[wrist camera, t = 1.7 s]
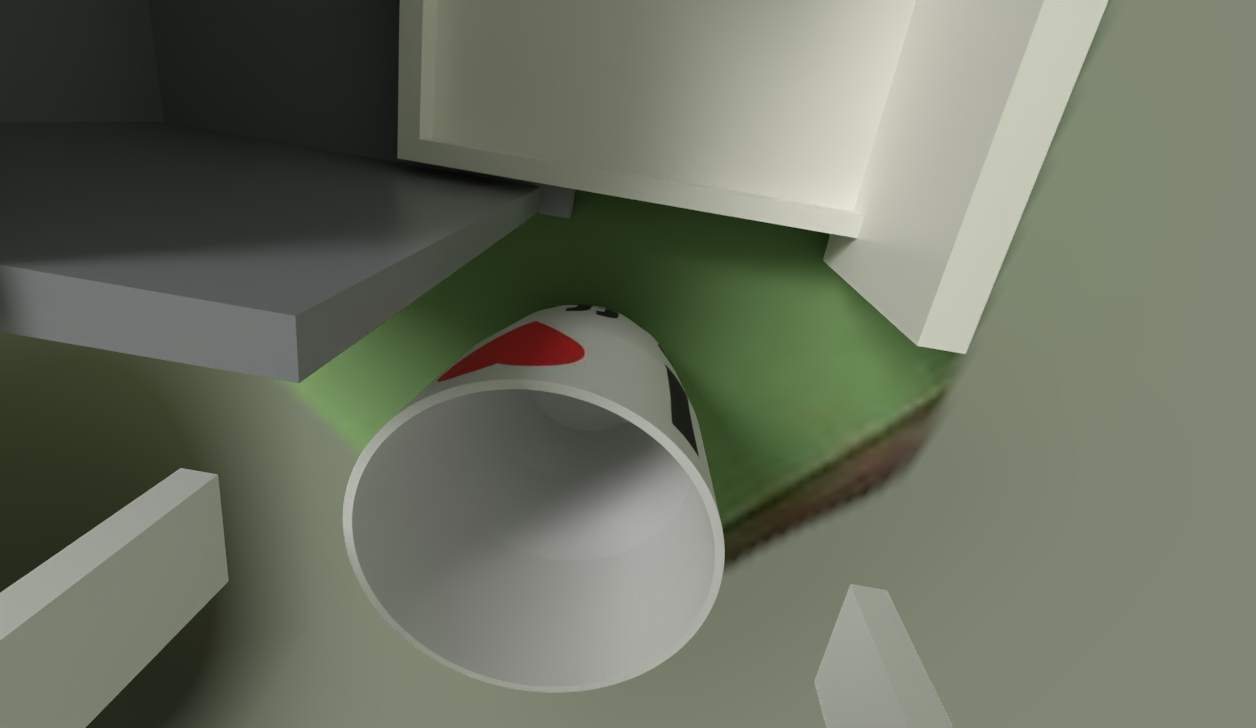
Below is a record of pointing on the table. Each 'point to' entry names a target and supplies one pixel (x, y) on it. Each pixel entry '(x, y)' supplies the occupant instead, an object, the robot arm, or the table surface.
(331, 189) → the housing
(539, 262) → the table surface
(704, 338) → the table surface
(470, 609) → the cup
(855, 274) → the white drawer
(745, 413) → the table surface
